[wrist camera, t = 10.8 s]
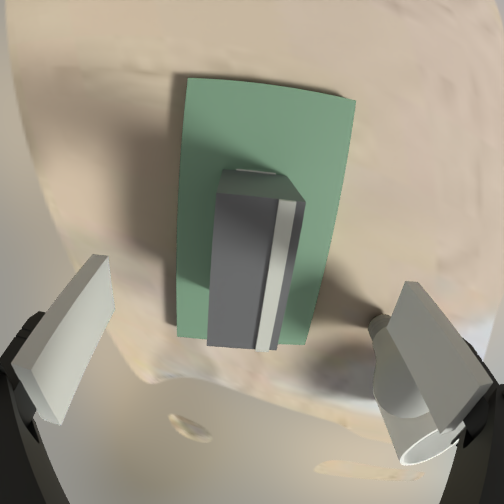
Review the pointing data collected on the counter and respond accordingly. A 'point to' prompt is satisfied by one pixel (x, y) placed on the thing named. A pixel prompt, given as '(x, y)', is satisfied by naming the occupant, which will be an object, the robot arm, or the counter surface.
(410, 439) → the cup
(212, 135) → the board
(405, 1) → the counter surface
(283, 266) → the block
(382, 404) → the lightbulb
